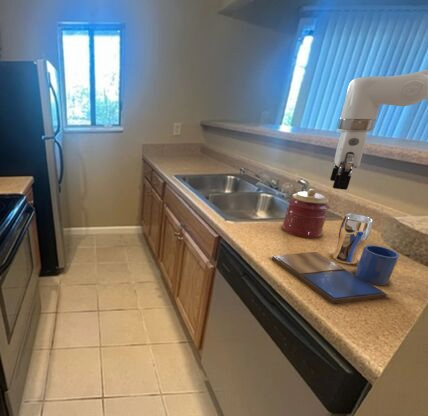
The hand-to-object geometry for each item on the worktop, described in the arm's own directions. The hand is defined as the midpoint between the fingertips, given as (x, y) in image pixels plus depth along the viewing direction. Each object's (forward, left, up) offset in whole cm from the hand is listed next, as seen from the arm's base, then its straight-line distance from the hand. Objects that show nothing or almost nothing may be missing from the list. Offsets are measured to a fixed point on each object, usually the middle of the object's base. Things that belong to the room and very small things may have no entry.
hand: (337, 184), depth 82 cm
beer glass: (-8, +3, -26) cm, 27 cm away
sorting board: (+7, +10, -25) cm, 28 cm away
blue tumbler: (-6, +13, -25) cm, 29 cm away
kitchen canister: (-11, -18, -26) cm, 33 cm away
